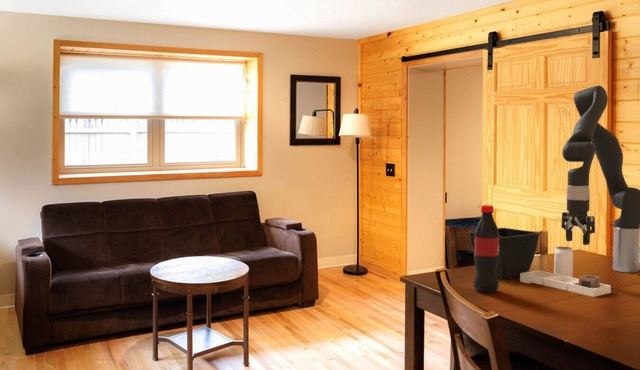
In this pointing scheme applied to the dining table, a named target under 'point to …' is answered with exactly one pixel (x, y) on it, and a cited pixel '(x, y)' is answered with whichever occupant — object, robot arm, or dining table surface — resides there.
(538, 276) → the dish
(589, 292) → the dish
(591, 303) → the dining table surface
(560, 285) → the dish
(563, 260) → the can
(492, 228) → the cola bottle
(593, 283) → the letter cube
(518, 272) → the flower pot
